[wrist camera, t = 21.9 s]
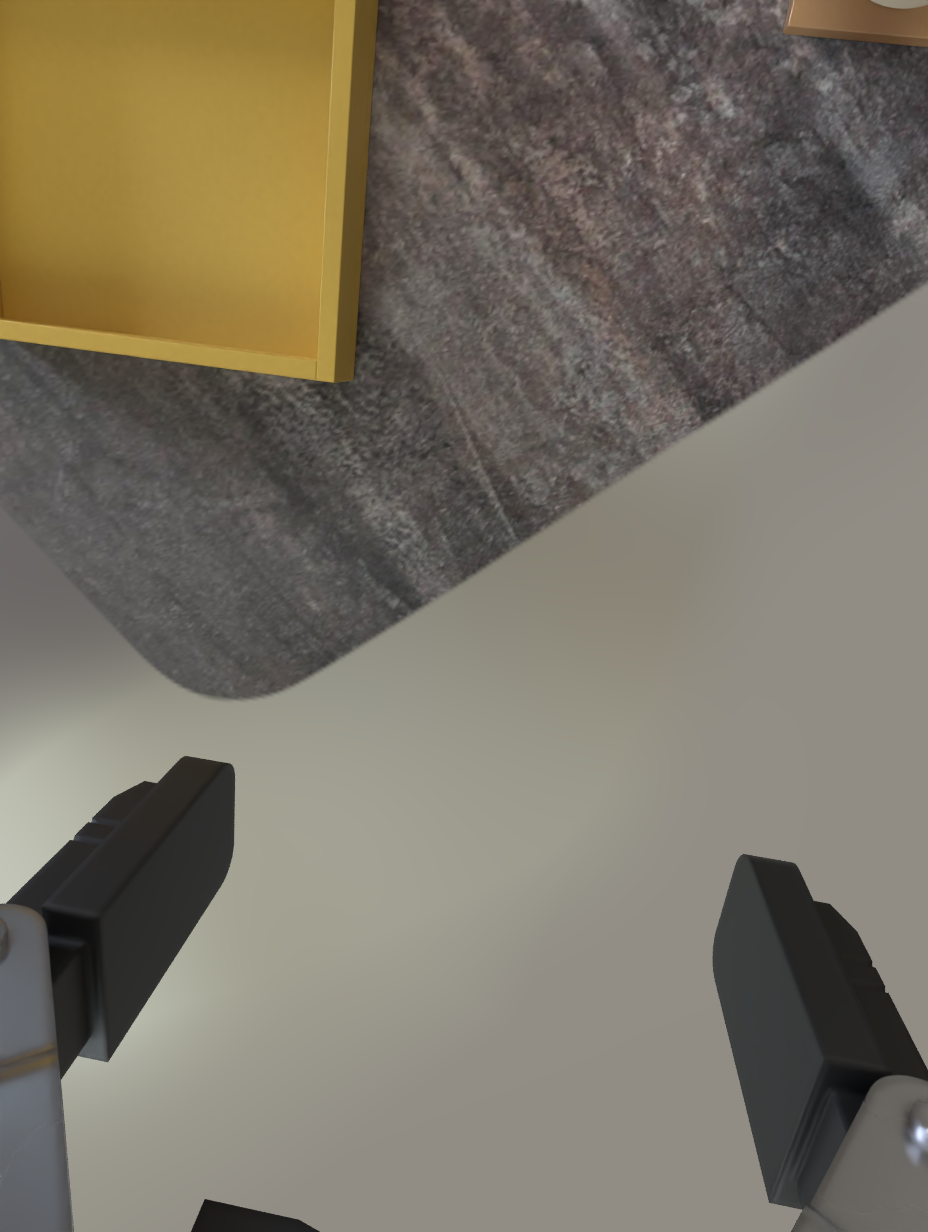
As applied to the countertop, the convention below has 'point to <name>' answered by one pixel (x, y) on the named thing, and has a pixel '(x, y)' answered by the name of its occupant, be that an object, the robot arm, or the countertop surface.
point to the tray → (186, 179)
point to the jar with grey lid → (901, 3)
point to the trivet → (857, 21)
